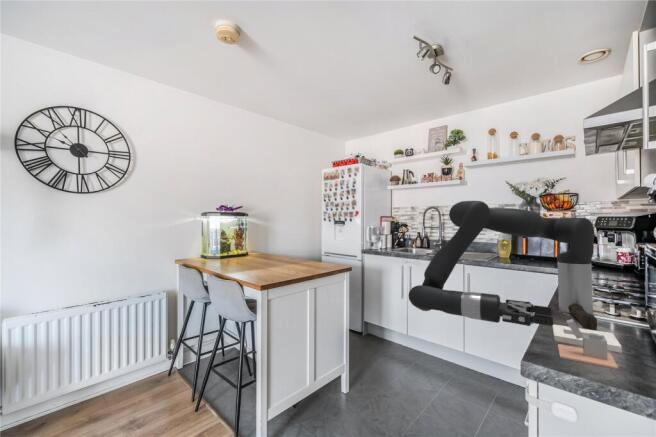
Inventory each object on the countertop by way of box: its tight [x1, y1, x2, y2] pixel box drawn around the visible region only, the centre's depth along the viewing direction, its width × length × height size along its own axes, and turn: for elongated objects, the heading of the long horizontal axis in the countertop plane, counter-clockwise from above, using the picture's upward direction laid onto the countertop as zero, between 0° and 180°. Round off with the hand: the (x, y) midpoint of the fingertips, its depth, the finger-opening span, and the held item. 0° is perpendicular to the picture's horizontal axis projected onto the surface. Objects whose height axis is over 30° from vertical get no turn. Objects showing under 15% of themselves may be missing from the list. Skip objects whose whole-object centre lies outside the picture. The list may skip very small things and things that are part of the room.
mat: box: [557, 343, 619, 370], centre depth 69 cm, size 8×10×1 cm
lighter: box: [566, 318, 608, 360], centre depth 69 cm, size 7×2×8 cm, turn 54°
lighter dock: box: [552, 323, 623, 354], centre depth 79 cm, size 10×13×2 cm
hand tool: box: [568, 304, 598, 331], centre depth 91 cm, size 19×4×5 cm, turn 149°
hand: (552, 316), depth 73 cm, fingers open, 8 cm apart
